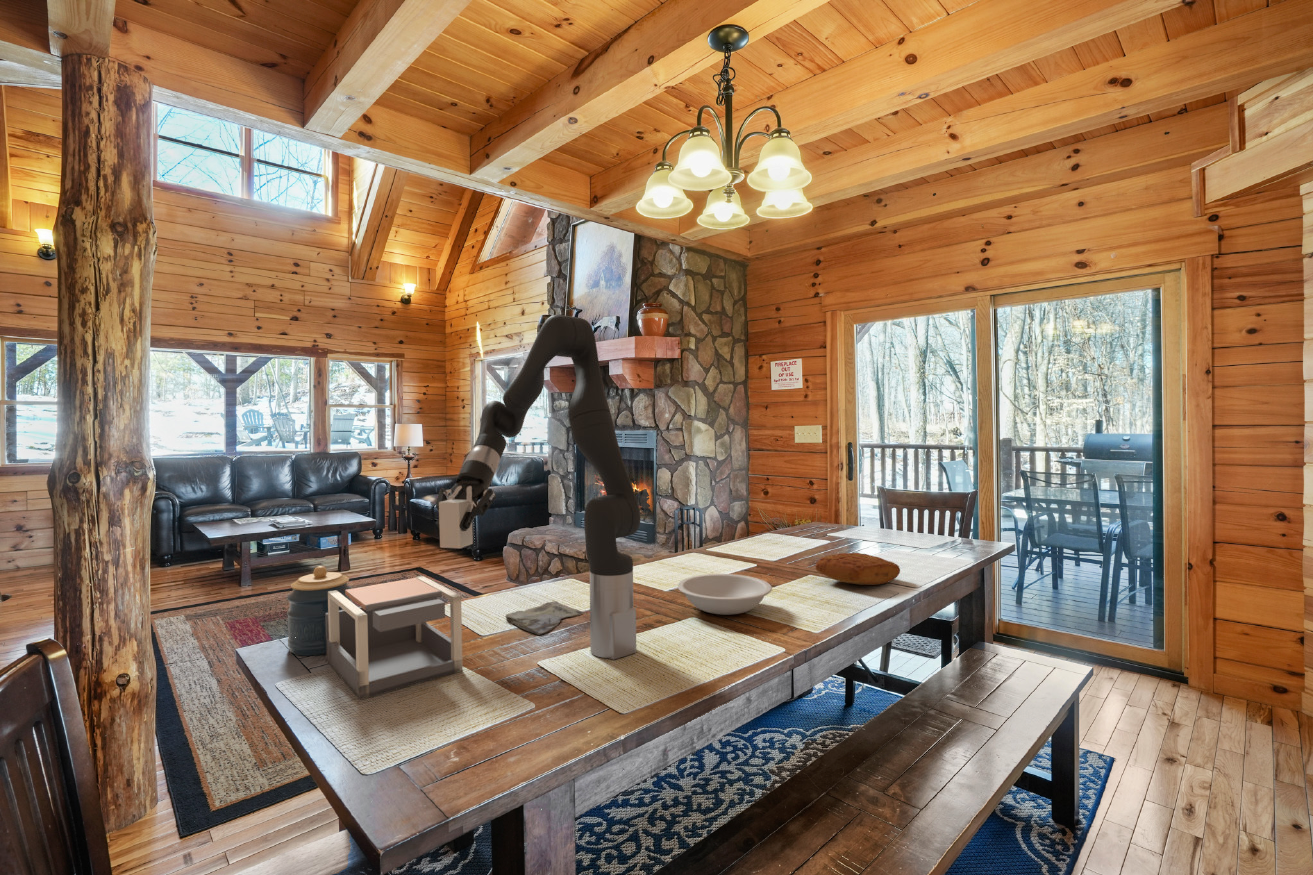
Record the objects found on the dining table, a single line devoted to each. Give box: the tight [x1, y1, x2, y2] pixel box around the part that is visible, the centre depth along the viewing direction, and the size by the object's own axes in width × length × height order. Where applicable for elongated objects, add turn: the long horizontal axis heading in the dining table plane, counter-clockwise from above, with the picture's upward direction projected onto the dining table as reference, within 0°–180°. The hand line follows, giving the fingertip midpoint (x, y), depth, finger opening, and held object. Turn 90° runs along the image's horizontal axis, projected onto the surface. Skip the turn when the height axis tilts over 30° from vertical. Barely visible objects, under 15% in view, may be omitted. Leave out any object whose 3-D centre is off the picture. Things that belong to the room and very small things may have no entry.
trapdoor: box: [345, 577, 446, 632], centre depth 123 cm, size 18×14×4 cm
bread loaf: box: [815, 552, 901, 586], centre depth 186 cm, size 22×17×8 cm
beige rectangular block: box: [438, 499, 474, 549], centre depth 139 cm, size 5×5×10 cm
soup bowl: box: [677, 573, 773, 616], centre depth 160 cm, size 24×24×7 cm
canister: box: [286, 565, 355, 657], centre depth 137 cm, size 13×13×18 cm
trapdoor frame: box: [325, 575, 463, 701], centre depth 126 cm, size 24×19×15 cm
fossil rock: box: [504, 601, 584, 636], centre depth 154 cm, size 18×15×2 cm
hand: (451, 528), depth 137 cm, fingers closed on beige rectangular block, 5 cm apart
